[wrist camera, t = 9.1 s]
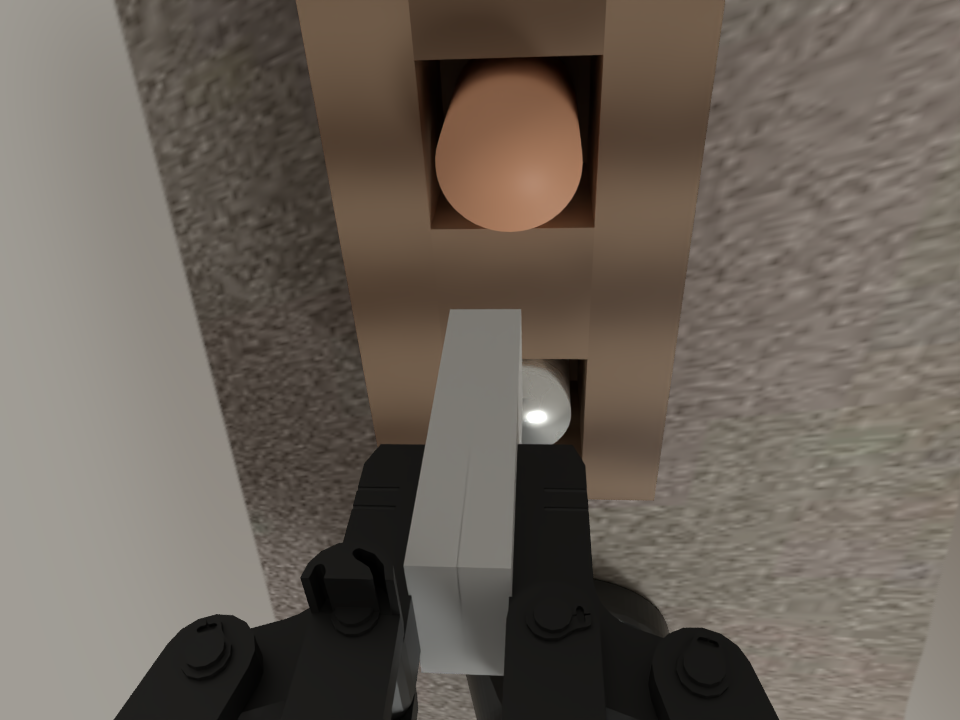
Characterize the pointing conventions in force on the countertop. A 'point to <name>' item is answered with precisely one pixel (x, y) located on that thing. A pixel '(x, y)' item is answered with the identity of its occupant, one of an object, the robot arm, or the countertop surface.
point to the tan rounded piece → (510, 142)
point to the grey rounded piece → (545, 400)
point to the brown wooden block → (530, 253)
